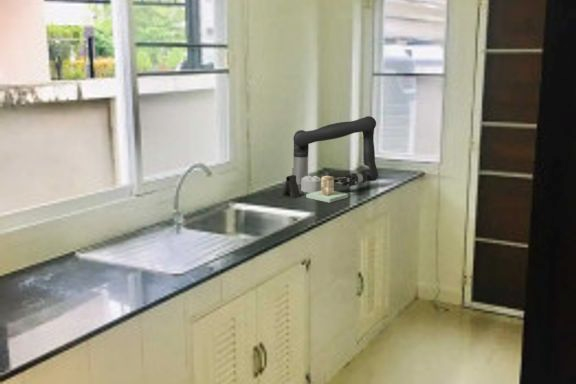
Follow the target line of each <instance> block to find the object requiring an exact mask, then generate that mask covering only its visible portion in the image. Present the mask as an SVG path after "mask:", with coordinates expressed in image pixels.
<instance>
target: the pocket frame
mask: <svg viewBox="0 0 576 384" xmlns="http://www.w3.org/2000/svg"><path fill="white" fill-rule="evenodd" d="M305 196H306V197H305V198H307V199H312V200H316V201H321V202H325V203H333V202H337V201H340V200H344V199H347V198H349V193H345V192H342V191H341V192H339V191H335V190H334V195H331V196H326V195H321V191H317V192H313V193H306V194H305Z"/></svg>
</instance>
